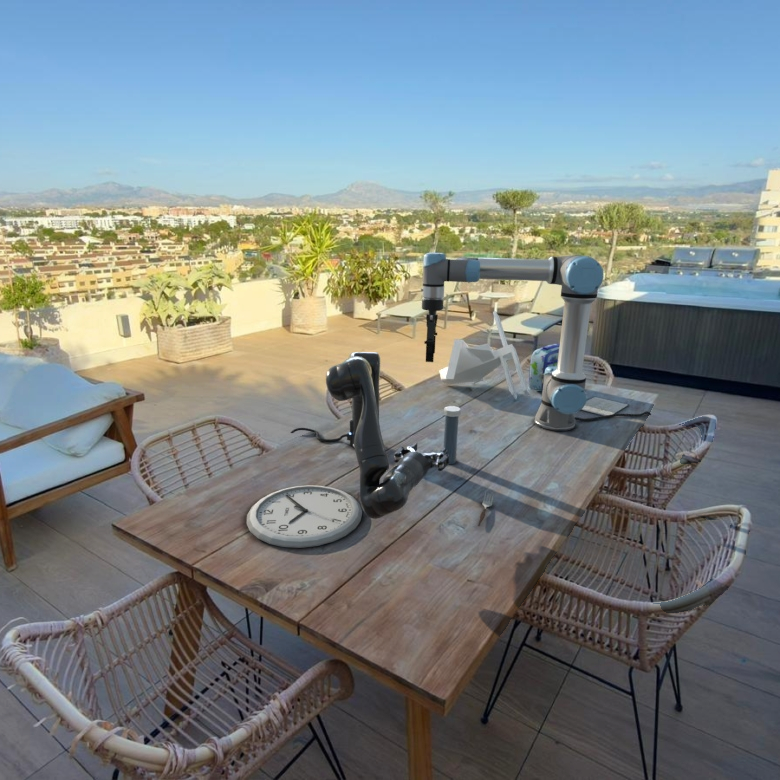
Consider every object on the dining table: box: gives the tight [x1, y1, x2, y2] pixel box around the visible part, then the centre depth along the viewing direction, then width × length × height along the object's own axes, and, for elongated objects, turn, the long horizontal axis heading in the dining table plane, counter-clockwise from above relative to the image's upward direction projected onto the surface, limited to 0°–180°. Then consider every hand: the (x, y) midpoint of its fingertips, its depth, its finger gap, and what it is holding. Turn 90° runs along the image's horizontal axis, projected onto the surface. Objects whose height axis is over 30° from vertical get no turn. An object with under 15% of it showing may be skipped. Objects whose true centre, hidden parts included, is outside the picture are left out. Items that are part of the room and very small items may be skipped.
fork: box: [477, 491, 494, 527], centre depth 140 cm, size 3×16×2 cm, turn 160°
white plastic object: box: [438, 310, 531, 400], centre depth 245 cm, size 37×45×31 cm
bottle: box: [443, 415, 460, 465], centre depth 168 cm, size 4×4×18 cm
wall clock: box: [246, 484, 363, 549], centre depth 137 cm, size 30×2×30 cm
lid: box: [443, 405, 461, 417], centre depth 166 cm, size 5×5×2 cm
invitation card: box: [580, 396, 629, 416], centre depth 226 cm, size 21×1×15 cm
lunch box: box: [528, 343, 560, 393], centre depth 248 cm, size 26×11×21 cm, turn 134°
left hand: (430, 448), depth 148 cm, fingers open, 8 cm apart
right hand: (430, 357), depth 190 cm, fingers open, 13 cm apart
